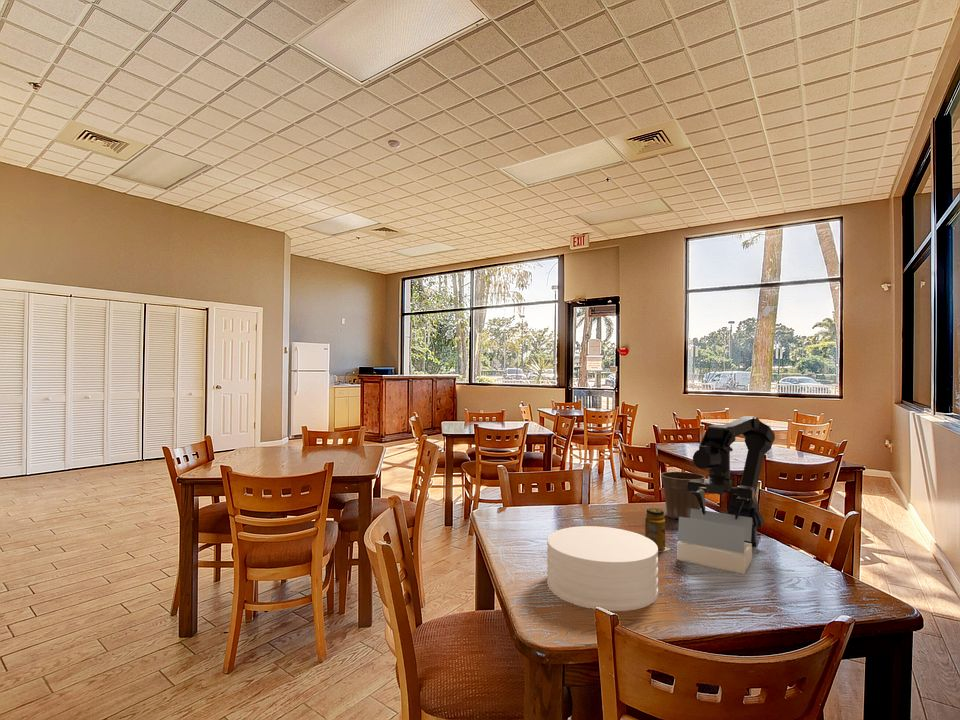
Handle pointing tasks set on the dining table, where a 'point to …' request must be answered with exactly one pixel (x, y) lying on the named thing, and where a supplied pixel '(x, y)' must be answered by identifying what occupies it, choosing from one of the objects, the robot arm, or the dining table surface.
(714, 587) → the dining table surface
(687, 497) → the plant pot
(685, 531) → the flap
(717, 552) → the carton
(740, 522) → the flap
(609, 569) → the plate stack
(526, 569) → the dining table surface
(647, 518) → the condiment
